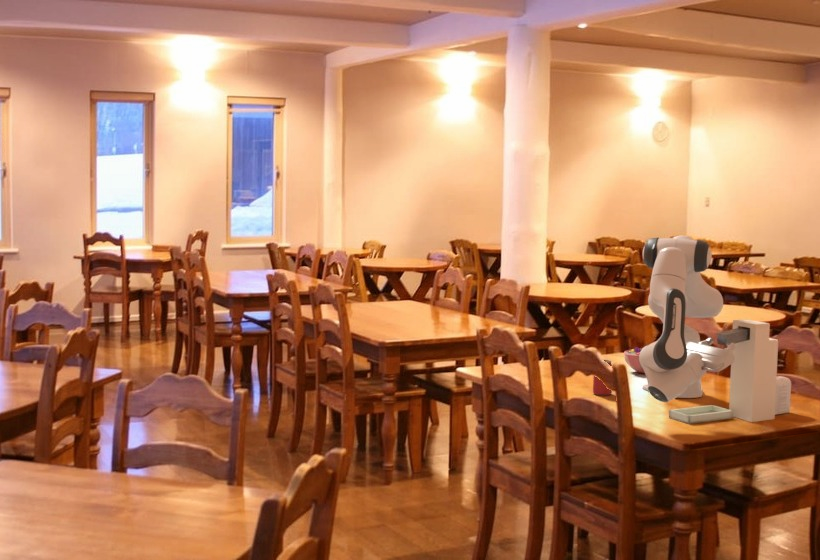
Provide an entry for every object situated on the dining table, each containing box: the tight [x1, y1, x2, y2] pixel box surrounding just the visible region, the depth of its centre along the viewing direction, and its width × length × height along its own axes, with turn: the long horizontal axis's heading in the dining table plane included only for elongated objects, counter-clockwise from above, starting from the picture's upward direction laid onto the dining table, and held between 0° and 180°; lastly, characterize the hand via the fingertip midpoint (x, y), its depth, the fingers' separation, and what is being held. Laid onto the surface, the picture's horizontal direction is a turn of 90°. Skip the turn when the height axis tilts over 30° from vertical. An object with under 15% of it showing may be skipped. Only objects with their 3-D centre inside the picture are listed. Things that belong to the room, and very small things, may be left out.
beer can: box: [592, 359, 613, 397], centre depth 374 cm, size 7×7×12 cm
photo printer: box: [775, 375, 792, 416], centre depth 347 cm, size 10×4×12 cm, turn 123°
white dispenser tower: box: [728, 318, 779, 423], centre depth 340 cm, size 10×10×32 cm
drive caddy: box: [716, 327, 750, 347], centre depth 335 cm, size 4×13×4 cm, turn 117°
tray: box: [668, 404, 734, 425], centre depth 339 cm, size 9×18×2 cm, turn 117°
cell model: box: [623, 346, 645, 374], centre depth 416 cm, size 17×20×11 cm
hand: (722, 341), depth 333 cm, fingers open, 8 cm apart
